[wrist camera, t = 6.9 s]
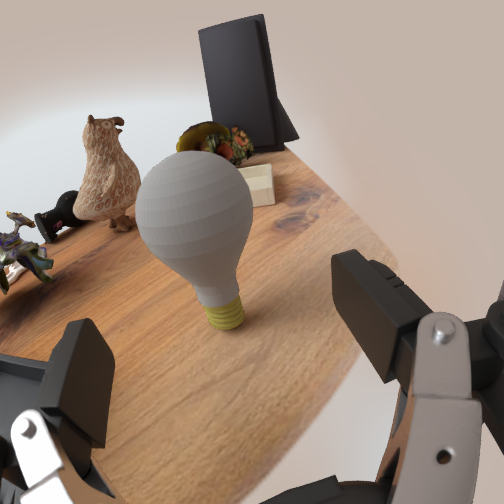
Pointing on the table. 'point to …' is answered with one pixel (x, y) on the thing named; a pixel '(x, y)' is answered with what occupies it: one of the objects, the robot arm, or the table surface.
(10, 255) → the passion flower
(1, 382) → the charcoal tray
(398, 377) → the robot arm
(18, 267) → the fidget spinner
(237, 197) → the light bulb
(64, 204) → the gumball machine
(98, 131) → the figurine
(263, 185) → the ivory tray
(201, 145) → the mushroom
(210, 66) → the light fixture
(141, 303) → the table surface
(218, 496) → the table surface
